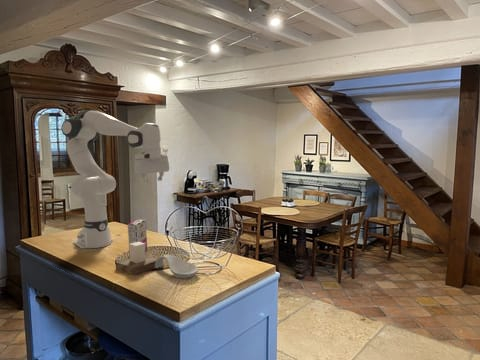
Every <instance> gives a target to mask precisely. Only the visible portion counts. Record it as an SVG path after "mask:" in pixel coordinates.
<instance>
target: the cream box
mask: <svg viewBox="0 0 480 360" xmlns="http://www.w3.org/2000/svg"><path fill="white" fill-rule="evenodd" d="M129 248H130V255H129V257H130V261H132V262H134V263H139V262H142V261H145V260H146V259H145V255H146V250H145V243H142V242H135V243H131V244H129V243H128V249H129Z"/></svg>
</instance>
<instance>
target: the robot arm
mask: <svg viewBox="0 0 480 360" xmlns="http://www.w3.org/2000/svg"><path fill="white" fill-rule="evenodd" d="M61 132H62V134H63V136H65V137H66V138H69V140H68V141H67V142H66V144H65V145H66V146H65V147H66V150H67V151H66V152H67V154H68V157H69V159H70V162H71V163H72V166H73V167H74V170H75V171H76V173H78V174H79V175H82V176H81V177H78V178H75V179H74V180H72V183H71V185H70V189H71V192H72V194H73V195H74V196H75V197H77V198H78V199H79V200H80V201H81V202H82V205H83V207H84V215H85V217H84V218H85V219H84V221H83V227H82V228H81V229H80V231H78V233H77V235H76V237H77V238H76V240H73V244H74V245H75V246H77V247H79V248H80V249H97V248H103V247H107V246H110V245H111V244H112V242H113V241H114V240H113V238H112V237H111V230H110V227H109V224H108V223H109V221H108V220H109V219H108V217H107V216H108V215H107V205H106V204H105V203H103V202H101V201H100V200H99V198H98V196H102V195H106V194H109V193H111V192H113V191H115V189H116V187H117V181H116V178H115V177H114V176H113V175H110V174H108V173H107V172H105V171H104V170H103V169H102V168H100V167H99V165H98V163H97V162H96V161H95V159H94V158H93V155H92V153H91V151H90V149H89V148H88V144H89V145H91V144H93V142H94V141H96V140H97V139H98V137H99V136H100V135H104V136H116V137H117V136H122V137H126V143H127V144H128V146H129V147H130V148H133V149H142V151H140V152H138V153H136V154H134V159H135V160H134V162H133V163H134V165H133V167H134V168H133V170H134V171H133V172H134V173H135V174H136V175H140V176H141V178H142V182H143V183H148V182H149V178H147V177H146V176H147V174H155V173H158V174H159V176H158V177H157V181H158V182H160V181H163V176H164V175H165V172H169V170H170V164H169V157H168V156H167V154H165V153H164V154H162V152H161V151H162V149H161V130H160V127H159V125H158V124H157V123H152V122H145V123H143V124H142V125H141V126H140V127H135V126H133V125H131V124H128V123H126V122H124V121H121V120H119V119H117V118H115V117H114V116H111V115H109V114H107V113H104V112H101V111H97V110H88V111H86V112H85V113H84V115H83V117H82V118H79V117H76V116H75V117H74V118H67V119H66V120H64V121H63V122H62V124H61Z"/></svg>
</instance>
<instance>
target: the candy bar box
mask: <svg viewBox="0 0 480 360" xmlns="http://www.w3.org/2000/svg"><path fill="white" fill-rule="evenodd" d="M127 232H128V234H127V235H128V236H127V237H128V245H129V244H131V243H135V242H142V243H145V251H146V250H148V241H147V240H148V239H147V238H148V237H147V220H146V219H140V218H139V219H136V220H134V221H132V222H130V223H128V224H127ZM128 251H129V253H128V254H129V255H128V256H130V248H129V247H128Z"/></svg>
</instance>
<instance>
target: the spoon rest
mask: <svg viewBox="0 0 480 360" xmlns="http://www.w3.org/2000/svg"><path fill="white" fill-rule="evenodd" d="M164 260H166V261H167V265H168V268H169V271H170V272H171V274H172V275H173V276H174V277H176V278H177V279H181V280H185V279H190V278H192V277H194V276H196V275H197V274H198V272H199V270H200V269H199V267H198V266H197V265H195V264H193V263H191V262H189V261H187V260H184V259H182V258H179V257H177V256H174V255H171V254H165V255H160V256H159V257H158V259H157V260H156V262H155V268H157V269H159V267H160V268H163V267H164ZM162 266H163V267H162Z"/></svg>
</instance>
